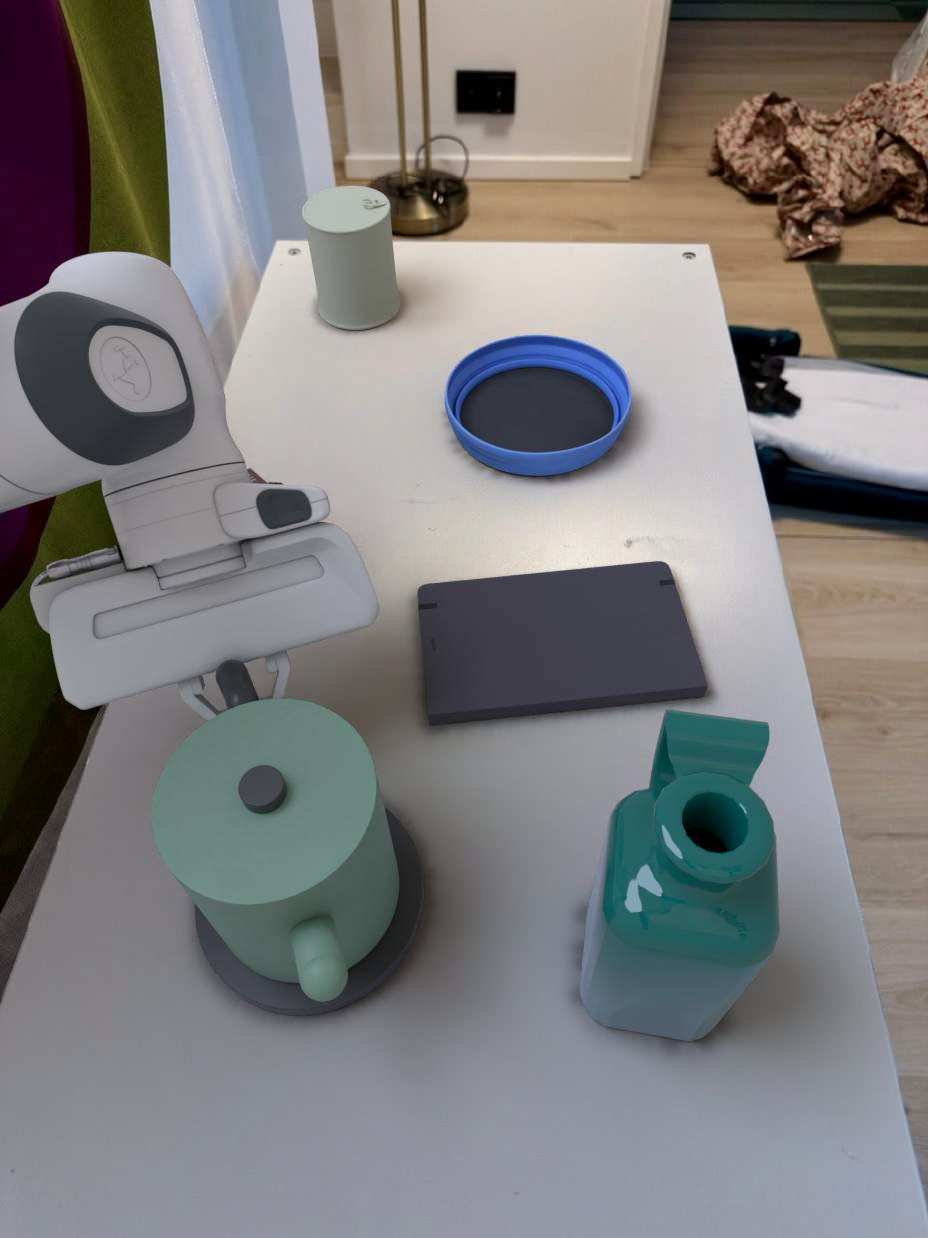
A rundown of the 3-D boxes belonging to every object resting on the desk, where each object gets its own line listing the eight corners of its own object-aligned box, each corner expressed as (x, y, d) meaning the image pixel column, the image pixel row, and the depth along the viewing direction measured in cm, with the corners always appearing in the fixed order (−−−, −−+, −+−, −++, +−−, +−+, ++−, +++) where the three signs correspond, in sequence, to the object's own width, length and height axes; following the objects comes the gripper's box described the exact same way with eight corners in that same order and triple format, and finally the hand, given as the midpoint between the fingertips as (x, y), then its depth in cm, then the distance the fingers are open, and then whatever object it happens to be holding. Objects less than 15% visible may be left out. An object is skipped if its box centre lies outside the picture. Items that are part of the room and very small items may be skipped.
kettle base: (201, 1038, 55) (195, 1033, 54) (199, 816, 64) (194, 807, 63) (441, 989, 57) (440, 983, 55) (406, 778, 66) (404, 769, 64)
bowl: (655, 461, 85) (661, 433, 82) (471, 499, 83) (470, 470, 80) (592, 349, 95) (595, 320, 93) (427, 379, 93) (425, 350, 90)
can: (406, 323, 99) (397, 219, 90) (324, 336, 98) (305, 232, 89) (392, 277, 105) (382, 175, 95) (314, 289, 104) (296, 186, 94)
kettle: (452, 1007, 54) (440, 926, 42) (260, 1092, 52) (189, 1031, 40) (344, 724, 67) (311, 598, 55) (184, 781, 64) (112, 663, 52)
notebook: (429, 725, 68) (704, 696, 69) (427, 714, 67) (708, 685, 68) (417, 596, 76) (665, 571, 77) (416, 584, 75) (668, 559, 75)
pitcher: (716, 1048, 54) (821, 929, 37) (576, 1023, 55) (612, 895, 38) (717, 891, 60) (808, 723, 42) (590, 871, 61) (628, 699, 43)
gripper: (5, 572, 52) (82, 794, 54) (348, 483, 55) (407, 694, 57) (33, 568, 58) (100, 767, 60) (340, 487, 62) (393, 678, 64)
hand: (253, 731), depth 59 cm, fingers closed on kettle, 2 cm apart
